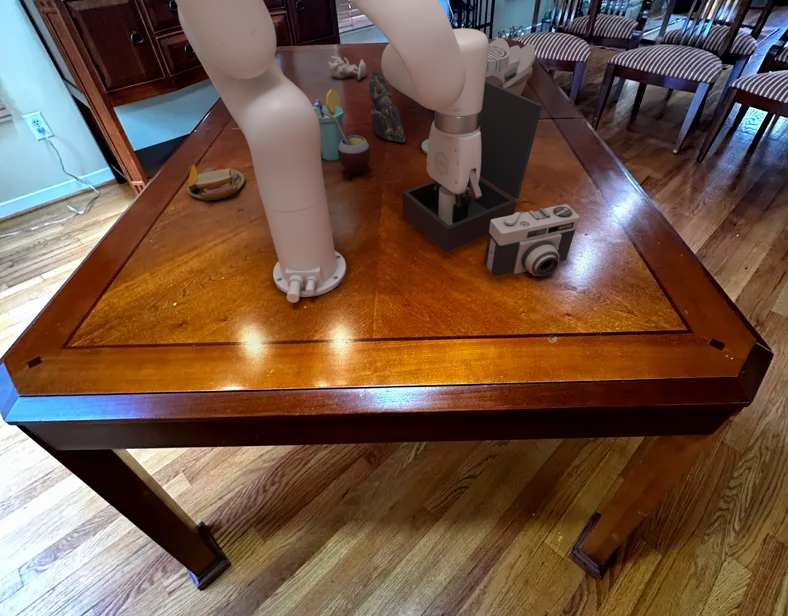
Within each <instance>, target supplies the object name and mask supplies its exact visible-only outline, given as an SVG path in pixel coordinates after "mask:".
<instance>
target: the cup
mask: <svg viewBox="0 0 788 616" xmlns="http://www.w3.org/2000/svg"><path fill="white" fill-rule="evenodd" d="M312 105H313V107H314V109H315V111H316V114H317V116H318V120H319V124H320V131H321V158H322V159H323V160H326V161H337V160H340V159H339V156H338V146H339V144H340V142H341V140H342V139H343V137H342V135H341V133H340V131H339V129H338V127H337V125H335V123H334V120H333V119H331V118H330V117H329V116H327V115H325V114H324V113H323V112H325V113H328V114H330V115H332V116H333V117H334V118H335V119H337V120H338V122H339V125H340V127H341V129H342V130H343V118H344V111H343V107H342V106H341V95H340V93H339V90H338V89H333V88H330V89H329V90H328V92H327V93H326V95H325V104H324V105H322V101H321V100H319V99H316V100H315V101H314V103H313V104H312ZM322 111H323V112H322Z"/></svg>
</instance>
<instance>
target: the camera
mask: <svg viewBox="0 0 788 616" xmlns="http://www.w3.org/2000/svg"><path fill="white" fill-rule="evenodd" d="M579 221H580V215H579V214H578V213H577V212H576V211H575V210H574V209H573V208H572V207H570V205H568V204H567V203H565V204H560V205H555V206H550V207H545V208H542V207H541V208H539V210H536V211H534V210H531V209H530V210H529V211H526V212H525V211H515V212H514V214H513V215H510V216H505V217H500V218H495V219H492V220H491V222H490V229H489V233H488V235H487V240H486V247H485V254H484V260H483V263H484V264H485V265H486V267H487V269H488V270H489V271H490V273H491V274H492V275H493V276H496V277H497V276H502V275H506V274H511V273H513V274H515V275H517V274H520V273H526V272H527V273H530V274H532V276H535V277H540V276H541V277H546V276H549V275H551V274H553V272H555V270H556V269H557V268H558V266H559V263H560V262H564V261H566V260H567V258H568V254H569V252H570V248H571V245H572V242H573V239H574V236H575V232H576V230H577V227H578V223H579Z"/></svg>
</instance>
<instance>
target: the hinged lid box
mask: <svg viewBox="0 0 788 616" xmlns="http://www.w3.org/2000/svg"><path fill="white" fill-rule="evenodd" d="M478 185H479V188H480V191H481V194H482V197H481V198H479V199H476V200H473V201H472V202H470V203H469V208H468V217H467V218H466V219H463V220H461V221H458V222H456V223H454V224H451V225H448V224H447V223H445V222H444V221H443V220H442V219H440V218H439V217H438V210H436V209H435V191H437V190H435V189H434V181H433V180H432V181H429V182H426V183H424V184H421V185H418V186H416V187H412V188H409V189H407V190H404V191H402V192H401V195H402V196H401V197H402V215H403V216H404V217H405V218H406V219H407V220H408V221H410V223H412V224H413V225H414V226H415V227H416V228H418V229H419V230H420V231H421V232H423V234H424V235H426V236H427V237H428V238H429V239H430V240H432V242H434V243H435V244H436V245H437V246H439V248H440V249H442V250H443V251H444V252H445V253H448V252H451V251H453V250H455V249H458V248H460V247H463V246H465V245H467V244H469V243H472V242H474V241H477V240H478V239H481V238H483V237H485V236H488V233H489V229H490V222H491V220H492V219H495V218H500V217H505V216H510V215H513V214H515V213H516V206H517V199H514V198H513V197H511V196H510V195H508V194H507V193H505V192H504V191H502V190H501V189H499V188H497V187H496V186H494V185H493V184H491V183H490V182H488V181H487V180H485V179H483V178H482V177H480V178H479V183H478Z"/></svg>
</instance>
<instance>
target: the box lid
mask: <svg viewBox="0 0 788 616" xmlns="http://www.w3.org/2000/svg"><path fill="white" fill-rule="evenodd" d="M542 110H543V104H541V103H539V102H536V101H534V100H532V99H530V98H527V97H525V96H523V95H522V94H521V95H518V94H516V93H514V92H511V91H509V90H507V89H505V88H502V87H500V86H498V85H495V84H493V83H491V82H488V81H486V80H485V85H484V94H483V103H482V113H481V122H480V130H479V131H480V132H481V170H480V178H482V179H483V180H485V181H486V182H488V183H489V184H491V185H493V186H494V187H496V188H497V189H499V190H500V191H502V192H503V193H505V194H506V195H508V196H510V197H511V198H513V199H514V200H517V199H519V198H520V195H521V190H522V187H523V183H524V179H525V175H526V171H527V167H528V164H529V159H530V157H531V151H532V148H533V144H534V140H535V136H536V132H537V128H538V124H539V122H540V121H539V120H540V117H541V113H542Z"/></svg>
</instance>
